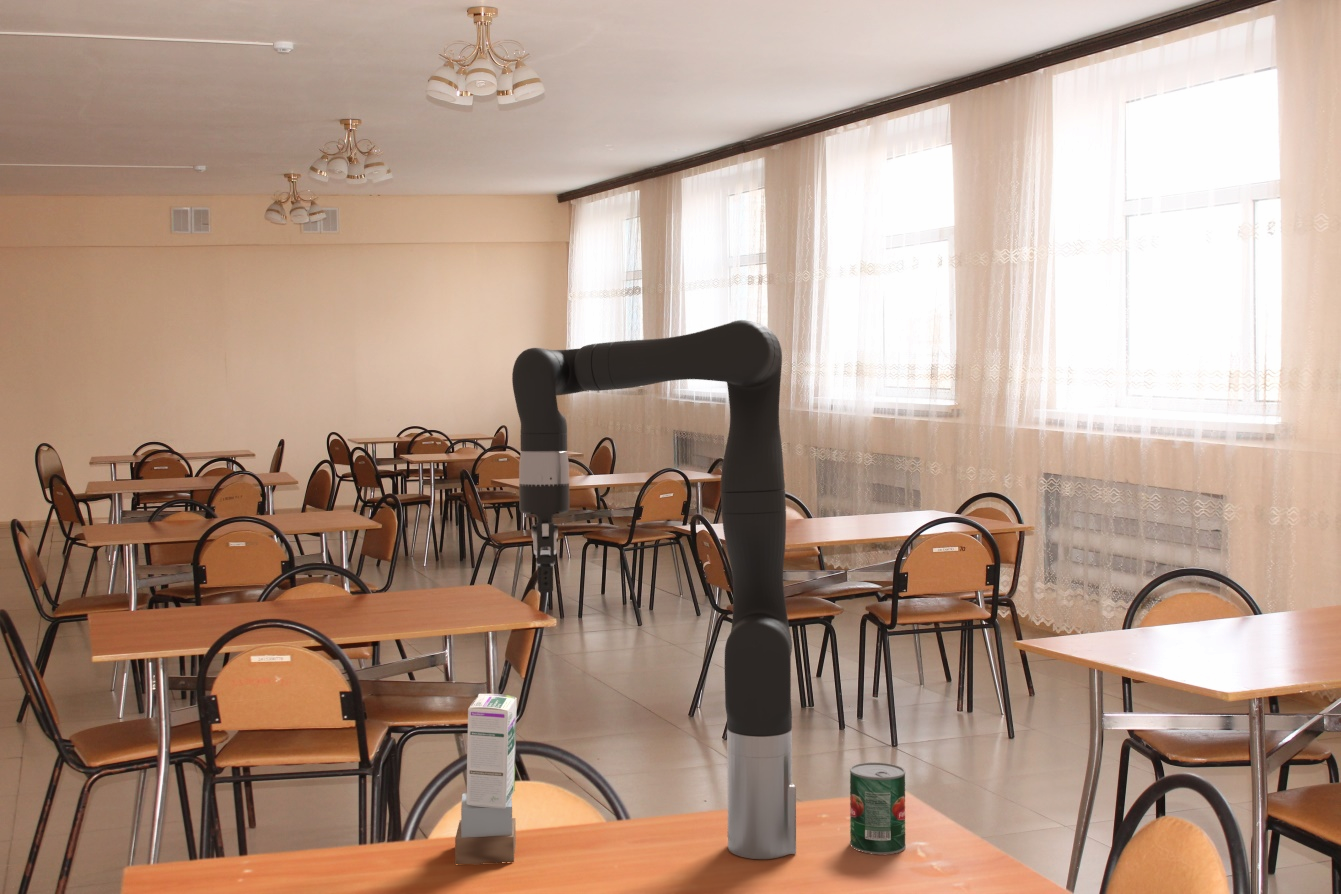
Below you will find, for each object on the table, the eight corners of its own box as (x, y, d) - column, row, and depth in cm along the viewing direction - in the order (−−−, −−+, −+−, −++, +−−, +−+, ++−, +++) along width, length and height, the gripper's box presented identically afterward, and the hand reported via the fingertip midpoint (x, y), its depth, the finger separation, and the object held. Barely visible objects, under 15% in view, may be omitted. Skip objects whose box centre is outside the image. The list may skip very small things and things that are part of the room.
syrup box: (505, 809, 165) (510, 709, 163) (464, 805, 165) (467, 706, 163) (514, 792, 171) (519, 695, 168) (474, 788, 171) (478, 691, 169)
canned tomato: (841, 839, 174) (840, 764, 174) (890, 834, 176) (889, 759, 176) (864, 858, 166) (864, 779, 166) (915, 852, 168) (915, 774, 168)
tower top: (511, 818, 173) (511, 791, 173) (512, 835, 166) (512, 806, 166) (462, 821, 172) (462, 793, 172) (461, 837, 165) (461, 809, 165)
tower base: (515, 845, 173) (515, 818, 173) (513, 865, 165) (513, 836, 165) (460, 847, 173) (459, 820, 172) (455, 867, 165) (455, 839, 165)
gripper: (571, 483, 173) (571, 594, 173) (567, 479, 187) (568, 582, 187) (518, 483, 172) (519, 595, 172) (519, 479, 186) (520, 583, 186)
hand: (545, 588), depth 180 cm, fingers open, 8 cm apart
